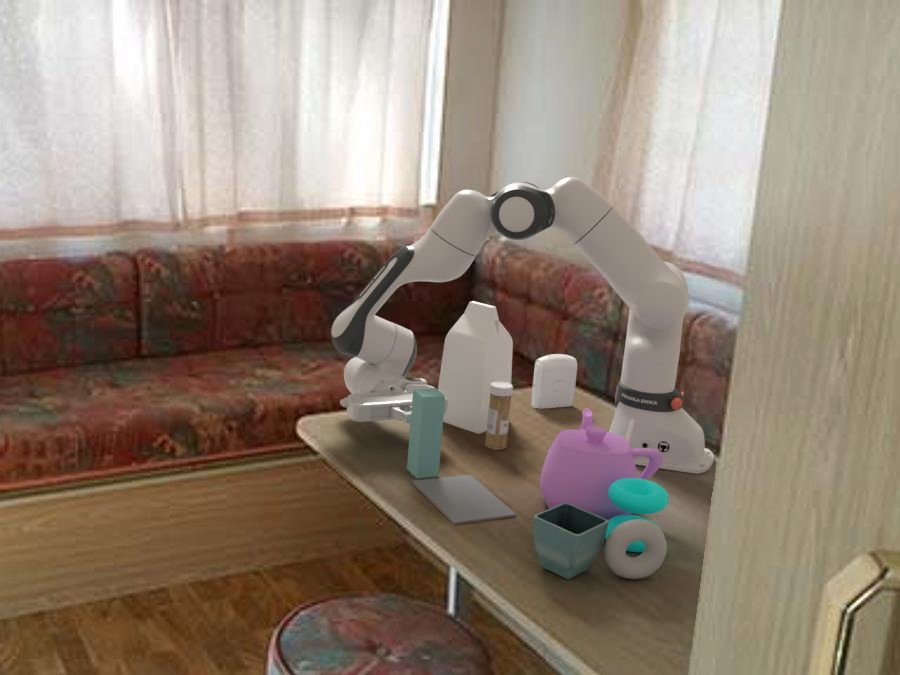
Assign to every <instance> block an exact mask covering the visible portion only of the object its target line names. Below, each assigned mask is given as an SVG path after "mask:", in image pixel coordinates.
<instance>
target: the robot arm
mask: <svg viewBox="0 0 900 675" xmlns="http://www.w3.org/2000/svg"><path fill="white" fill-rule="evenodd" d="M549 228H552V229H556V230H557V231H558V232H559V233H561V234H562V235H563V236H564V237H565V238H566V239H567V240H568V241H569V242H570V244H572V245H573V246H574V248H576V249H577V250H578V252H580V253H581V255H583V256H584V258H585V259H586V260H587V261H588V262H589V263H590V264H591V265H592V266H593V267H594V268H595V269H596V270H597V271H598V272H599V274H601V275H602V277H603V278H604V279H605V280H606V281H607V283H608V284H609V286H610V287H611V288H612V289H613V290H614V292H615V293H616V294H617V295H618V296H619V298H620V299H621V300H622V301H623V302H624V304H626V306H627V307H628V308H629V313H628V320H627V328H626V336H625V337H626V338H625V345H624V352H623V359H622V367H621V374H620V380H619V381H618V382H617V386H616V389H615V390H616V391H615V400H614V402H615V404H614V406H615V410H614V415H613V419H612V422H611V426H610V429H609V431H608V433H614V434H618V435H621V436H623V437H624V438H625V439H626V440H627V441H628V443H629V446H630V449H637V448H649V449H656V450H658V451H660V452H661V453H662V455H663V461H662V463H661V465H660V467H659V469H662V470H663V469H664V470H669V471H676V472H682V473H689V474H702V473H705V472H707V471H709V470H710V469H711V468H712V466H713V465H714V462H715V456H714V453H713V451H711V450H710V449H709V448H706V445H705V434H704V430H703V427H702V426H700V424H699V423H698V422H696V420H694V418H693V417H692V416H690V414H689V413H687V411H685V410H684V409H683V402H684V394H685V393H684V391H681V392H680V391H679V390H678V389H677V388H676V387H675V386H676V380H677V374H678V366H679V361H680V360H679V359H680V352H681V343H682V342H681V341H682V333H683V324H684V323H683V322H684V317H685V315H686V314H687V311H688V308H689V305H690V294H689V289H688V284H687V280H686V277H685V275H684V273H683V272H682V271H681V269H680V268H679V267H677V266H676V265H675V264H673V263H671V262H668V261H664V260H663V259H662V258H661V257H660V255H658V253H657V252H656V251H655V250H654V249H653V247H652V246H651V245H650V244H649V242H648V241H647V240H646V239H645V238H644V236H643V235H642V234H641V233H640V232H639V231H638V230H637V229H636V228H635V227H634V226H633V225H632V223H631V222H630V221H629V220H627V219H626V218H625V217H624V216H623V214H622V213H621V212H620V211H618V209H617V208H616V207H615V206H614V205H613V204H612V203H611V202H610V201H609V200H608V199H607V198H605V197H604V195H603V194H601V193H600V192H599V191H598V190H596V189H595V188H594V187H593V186H591V185H590V184H588V183H587V182H585V181H584V180H582V179H581V178H579V177H576V176H568V177H565V178H562V179H560V180H558V181H557V182H556V183H554V185H552V186H551V187H550V188H548V189H541V188H539V187H538V186H536V185H535V184H534V183H531V182H526V181H519V182H513V183H510V184H507V185H505V186H504V187H502V188H501V189H500V190H499V191H496V192H495V193H493V194H491V195H490V196H487V195H485V194H483V193H481V192H479V191H477V190H474V189H462V190H461V191H458V192H456V193H455V194H454V195H453V197H451V199H450V200H448V202H447V203H446V204H445V206H443V208H442V209H441V210H440V212H439V214H438V215H437V216H436V218H435V219H434V220H433V222H432V224H431V226H430V227H429V229H428V230H427V231H426V232H425V234H424V235H423V236H422V237H420V239H418V240H417V241H415V242H414V243H413V244H411V245H406V246H401V247H400V248H399V249H397V250H396V251H395V252H394V253H393V254H392V255H391V256H390V257H389V258H388V260H386V262H385V263H384V264H383V265H382V266H381V267H380V269H379V270H378V271H377V273H376V274H375V275H374V276H373V277H372V278H371V279H370V280H369V282H368V283H367V284H366V286H365V287H364V288H363V289H362V290H361V291H360V293H359V294H358V295H357V296H356V297H355V298H354V300H352V302H350V303H349V304H348V305H347V306H346V307H345V308H344V309H343V310H342V311H341V312H339V314H337V316H336V317H335V319H334V320H333V323H332V325H331V328H330V336H331V337H330V338H331V341H332V344H333V346H334V347H335V349H336V351H337V352H338V353H339V354H341V355H346V356H348V357H352V358H350V360H348V361H347V363H346V364H345V366H344V369H343V380H344V383H345V386H346V388H347V389H348V391H349V392H350V393H351V394H348V396H346V397H344V398H341V399H340V401H339V404H340V405H341V406H342V407H343V408H346V414H347V415H348V416H349V418H350V419H351V421H353V422H356V423H364V422H365V423H367V422H377V421H389V420H396V421H401V422H403V423H404V424H409V423H410V424H411V411H412V399H413V389H427V388H436V387H434V386H433V385H430V384H428V381H427V380H426V379H425V378H421V377H420V378H419V377H409V376H407V374H408V373H409V372H410V371H411V369H412V367H413V366H414V363H415V361H416V358H417V354H418V347H417V340H416V337H415V335H414V332H413V331H412V330H411V329H408V328H406V327H404V326H402V325H399V324H398V323H396V322H392V321H389V320H387V319H385V318H382V317H380V316H378V315H376V314H377V313H378V311H379V310H380V309H381V308H382V307H383V305H384V304H385V303H386V302H387V301H388V299H389V298H390V297H391V296H392V295H393V294H394V292H395V291H396V290H398V288H400V287H401V286H402V285H405V284H409V283H415V282H429V283H446V282H450V281H451V282H452V281H454V280H456V279H458V278H461V277H462V275H464V274H465V273H466V272H467V271H468V269H469V268H470V266H471V265H472V263H473V262H474V260H475V259H476V257H477V256H478V254H479V252H480V251H481V249H482V247H483V245H484V244H485V243H486V241H487V240H488V238H490V237H491V236H492V235H494V234H496V233H497V234H498V233H499V234H500V235H501V236H503V237H505V238H507V239H509V240H515V241H522V240H523V241H524V240H527V239H530V238H531V237H533V236H536V235H537V234H539V233H540V232H543V231H545V230H547V229H549ZM436 389H437V390H438V388H436ZM441 393H442V392H441ZM442 394H443V393H442ZM447 406H448V399H447V397H446V396H445V405H444V415H445V414H446V412H447ZM633 459H634V462H635V466H637V465H638V466H642V467H643V466H644V467H646V466H647V464H648V462H649V458H648V457H644V456H634V457H633Z"/></svg>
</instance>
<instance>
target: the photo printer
mask: <svg viewBox="0 0 900 675" xmlns="http://www.w3.org/2000/svg"><path fill="white" fill-rule="evenodd" d="M577 374H578V362H577V358H575V357H574V356H572V355H568V354H563V353H555V354H554V353H553V354H552V353H551V354H547V355H544V356H542V357H541V356H540V357H539V358H537V359H536V360H535V363H534V370H533V377H532V378H533V379H532V390H531V398H530V399H531V400H530V401H531V402H530V403H531V407H532V408H534V409H536V408H538V409H537V410H539V409H540V410H541V409H542V410H543V409H554V408H557V407H558V408H565V407H566V408H567V407H569V408H570V407H572V406H574V402H575V392H576V391H575V390H576V384H577V382H576V381H577Z"/></svg>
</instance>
